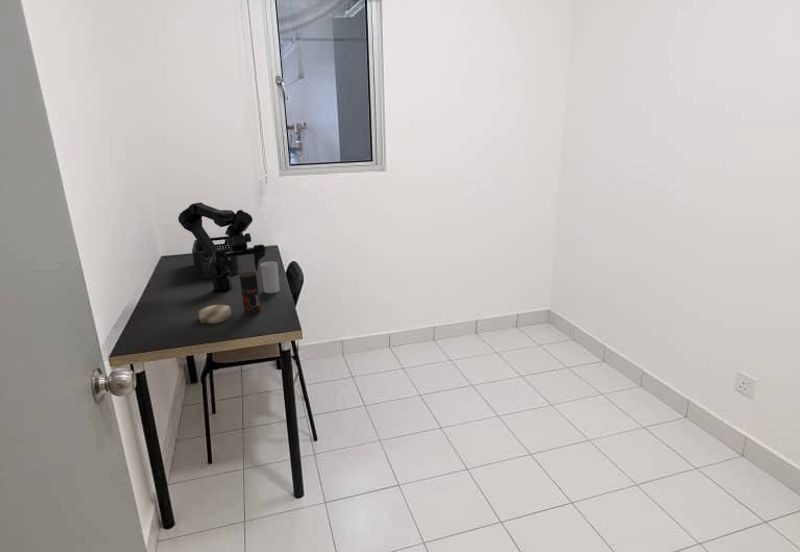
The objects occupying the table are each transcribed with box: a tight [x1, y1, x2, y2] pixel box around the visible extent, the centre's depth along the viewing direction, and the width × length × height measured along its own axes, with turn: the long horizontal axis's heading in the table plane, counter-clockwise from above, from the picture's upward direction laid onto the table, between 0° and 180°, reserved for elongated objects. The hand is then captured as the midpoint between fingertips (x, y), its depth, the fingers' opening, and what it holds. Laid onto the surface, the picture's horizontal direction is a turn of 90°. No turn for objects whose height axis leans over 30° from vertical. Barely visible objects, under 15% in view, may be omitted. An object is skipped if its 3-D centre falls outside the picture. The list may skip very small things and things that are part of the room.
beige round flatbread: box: [198, 304, 232, 325], centre depth 181 cm, size 11×11×3 cm
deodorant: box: [238, 271, 262, 316], centre depth 183 cm, size 6×6×15 cm
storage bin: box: [191, 235, 240, 279], centre depth 238 cm, size 29×19×13 cm
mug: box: [260, 261, 280, 294], centre depth 207 cm, size 10×7×12 cm, turn 9°
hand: (244, 272), depth 188 cm, fingers open, 9 cm apart
